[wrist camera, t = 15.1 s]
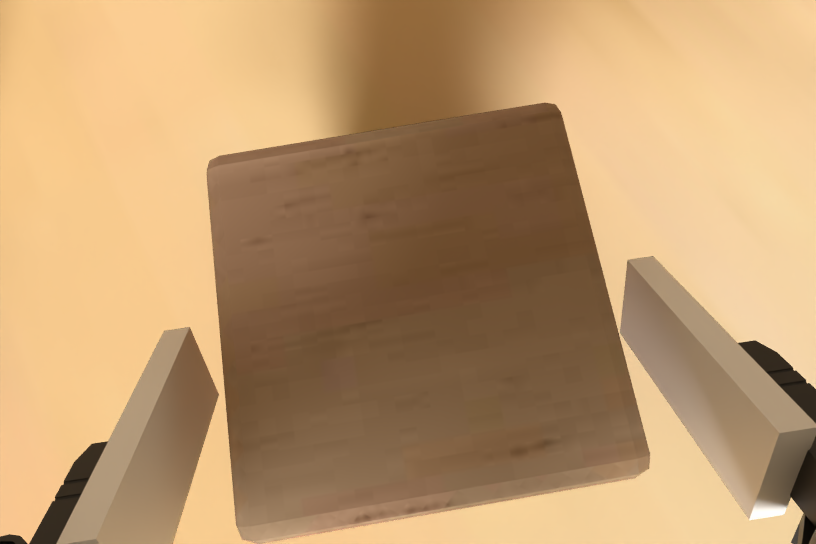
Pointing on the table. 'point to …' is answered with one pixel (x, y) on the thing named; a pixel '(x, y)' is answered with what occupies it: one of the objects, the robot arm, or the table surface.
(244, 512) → the wooden block
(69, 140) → the table surface
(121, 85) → the table surface
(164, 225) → the table surface
